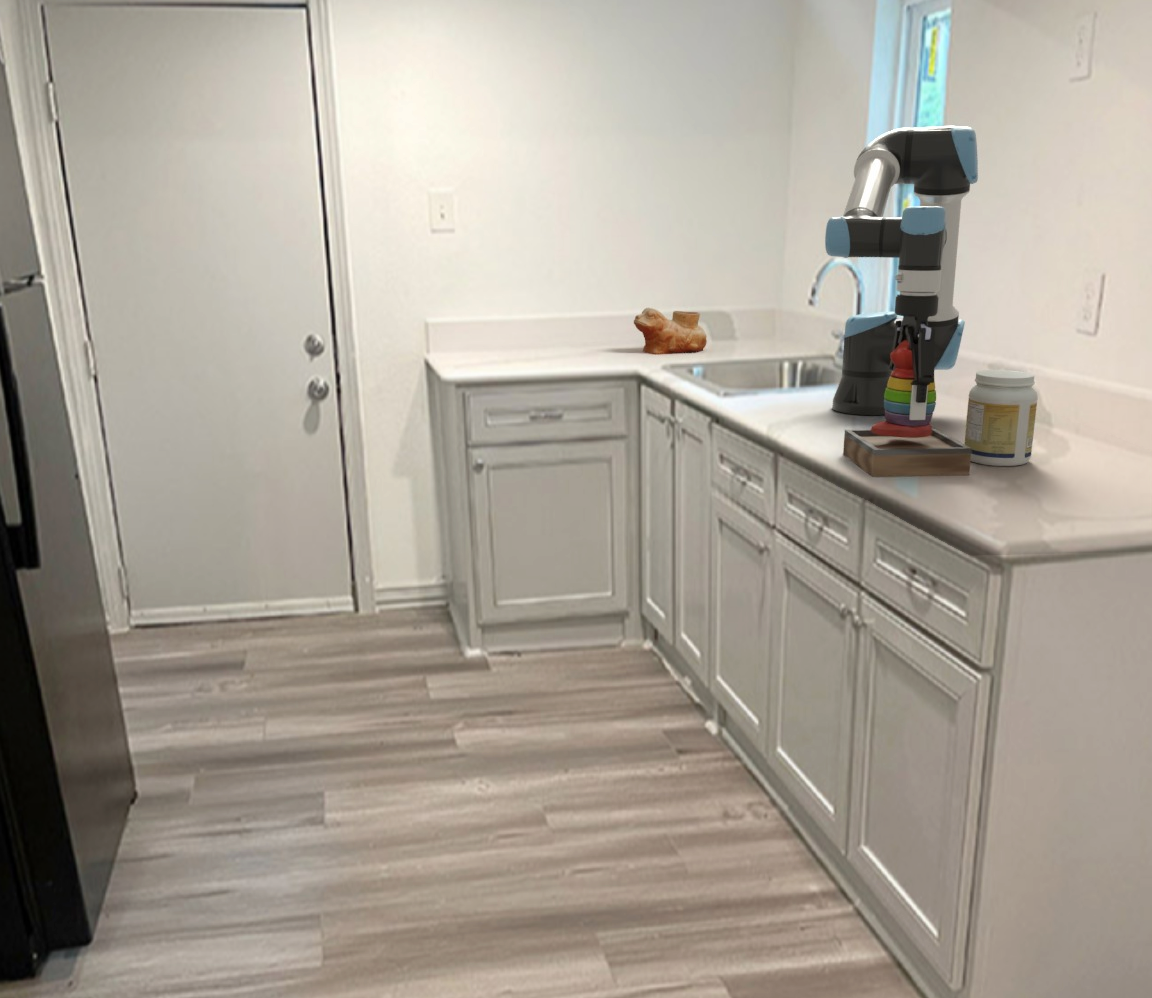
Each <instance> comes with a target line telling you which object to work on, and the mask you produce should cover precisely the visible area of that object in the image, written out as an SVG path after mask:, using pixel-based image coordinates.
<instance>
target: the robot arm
mask: <svg viewBox="0 0 1152 998" xmlns="http://www.w3.org/2000/svg"><path fill="white" fill-rule="evenodd" d="M978 161H979V160H978V144H977V134H976V131H975V130H974V129H973V128H972V127H970V126H959V125H957V126H956V125H944V126H942V125H941V126H924V127H922V126H921V127H900V128H895V129H893V130H891V131H887V132H885V133H883V134H881V135H879V136H878V137H877V138H875V139H874V140H872V141H871V142H870V143H869V144H867V145H866V146H865V147H864V149H862V151H861V152H860V153H859V154H858V156H857V158H856V161H855V163H854V167H853V177H854V183H853V185H852V187H851V191H850V192H849V193H850V194H849V197H848V200H847V202H846V206H845V208H844V212H843V214H842V215H841V216H835V217H834V216H833V217H831V218H829V219H828V221H827V223H826V228H825V237H824V238H825V239H824V244H825V245H824V247H825V252H826V254H827V255H828V256H830V257H838V258H840V257H841V258H844V259H845V258H846V259H848V258H890V259H892V258H895V259H896V258H897V259H898V266H897V268H898V269H897V275H895V276H894V280H895V281H897V283H896V291H897V292H899V294H896V295H895V302H894V311H891V310H890V311H878V312H877V311H876V312H874V311H873V312H867V313H860V314H855V315H852V316H850V317H849V318H847V319H846V322H845V326H844V333H843V336H842V337H843V354H842V355H843V356H842V365H841V367H842V369H841V378H840V380H839V383H838V386H837V389H836V391H835V393H834V397H833V398H832V405H831V406H832V407H831V409H832V410H834V411H836V412H839V413H843V414H848V415H849V414H850V415H857V416H858V415H859V416H882V415H883V416H885V409H884V399H885V398H884V394H885V390H886V388H887V384H888V380H889V378H890V376H892V375H891V373H892V371H893V370H895V369H896V367H895V366H894V364H893V362H892V361H891V357H890V354H891V353H892V352H893V351H894V350H895V349H896V348H897V347H898V346H899V344H900V343H901V342H903V341H905V340H908V342H909V350H911V351H912V361H913V371H914V381H912V382H911V385H912V392H911V404H910V416H909V419H910V420H925V416H926V404H927V393H928V385H929V384H930V383H934V381H935V371H939V370H945V371H947V370H948V371H949V370H951V369H953V368H954V366H955V365H956V362H957V359H958V355H959V351H960V346H961V342H962V338H963V337H962V336H963V333H964V329H965V323H966V322H965V321H964V320H963V319H961V318H959V317H960V311H958V309H956V307H955V306H953V305H954V295H955V294H954V291H955V280H956V269H957V268H956V267H957V255H958V243H959V232H960V231H959V230H960V219H961V209H962V199H963V198H965V197H966V195H968V194H969V193H970V189H971V185H974V184H977V182H978V177H979V175H978V174H979V173H978V172H979V171H978V169H979V168H978V164H979V163H978ZM899 184H905V185H908V184H909V185H913V194H914V196H916V197H917V198H918V199H919V206H907V207H905V208H904V209H903V211H902V215H901V216H894V217H893V216H892V217H891V216H889V217H888V216H884V213H885V210H886V206H887V202H888V199H889V195H890V191H891V188H892V187H893V186H894V185H899ZM899 316H900V317H901V318H900V317H899Z"/></svg>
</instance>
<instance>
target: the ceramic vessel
mask: <svg viewBox="0 0 1152 998" xmlns="http://www.w3.org/2000/svg"><path fill="white" fill-rule="evenodd" d="M700 316H701V313H700V312H697V311H682V310H673V312H672V317H671V319H668V318H667V317H665V316H664V314H663V313H662V312H661V311H660V310H658V309H655V308H653V307H646V308H644V309H643V310H642V312H641V313H640V314H637V315H636V316H635V318H634V319H633V324H634V326H635V327H636V329H637V330H638V331H640V332H641V333H642V335H643V337H644V346H643V348H642V349H643V351H642V352H644V353H647V354H651V355H654V356H655V355H658V356H659V355H660V356H661V355H675V354H696V353H699V352H703V351H704V348H706V346H707V343H708V342H707V334H706V333H705V331H704V329H703V327H701V326H700V325H699V321H700Z"/></svg>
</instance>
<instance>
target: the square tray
mask: <svg viewBox="0 0 1152 998" xmlns="http://www.w3.org/2000/svg"><path fill="white" fill-rule="evenodd" d="M843 436H844V437H843V448H842V450H843V453H842V454H843V456H845V457H846V458H847V459H848V460H850V461H851V462H852V463H854V464H855V465H857V466H858V467H860V469H862V470H863V471H864V472H866V473H867V474H868V475H870V476H871V477H877V478H879V477H917V476H918V477H923V476H924V477H925V476H926V477H927V476H928V477H929V476H932V477H934V476H938V477H939V476H969V475H970V468H971V461H970V460H971V450H972V448H970V447H968V446H966V445H964V444H965V443H962V442H961V441H959V440H957V439H955V438H953V437H951V436H950V435H947V434H946V433H944V432H942V431H940V430H938V429H936V428H932V434H931V435H930V436H927V437H919V438H906V437H892V436H884V435H878V434H874V433H872V432H871V428H869V429H867V428H866V429H865V428H862V429H859V428H858V429H856V428H855V429H844V435H843Z"/></svg>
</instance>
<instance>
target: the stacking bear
mask: <svg viewBox="0 0 1152 998" xmlns="http://www.w3.org/2000/svg"><path fill="white" fill-rule="evenodd" d="M890 357H891V361H892V362H893V364H894V366H895V367H896V369H895V370H893V371H892V373H891V375H892V376H890V378H889V380H888V384H887V388H886V390H885V394H884V398H885V399H884V409H885V415H884V417H885V420H883V421H879V422H877V423H874V424H873V425H872V426H871V428H870V429H871V432H872V433H874V434H878V435H884V436H892V437H906V438H919V437H927V436H930V435H931V434H932V424H931V421H932V418H933V415H934V412H935V410H936V405H937V390H936V382H935V380H934V383H930V384H929V385H928V393H927V404H926V416H925V420H910V419H909V416H910V404H911V392H912V385H911V382H912V381H914V371H913V361H912V351H911V350H909V342H908V340H905V341H903V342H901V343H900V344H899V346H898V347H897V348H896V349H895V350H894V351H893V352H892V353H891V354H890Z"/></svg>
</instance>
